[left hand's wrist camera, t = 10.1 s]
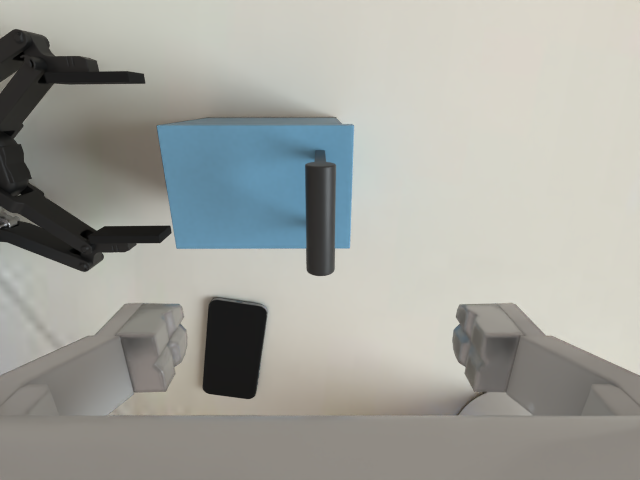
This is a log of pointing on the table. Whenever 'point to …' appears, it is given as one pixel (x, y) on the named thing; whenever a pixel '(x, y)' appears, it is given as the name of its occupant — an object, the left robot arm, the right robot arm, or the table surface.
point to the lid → (260, 187)
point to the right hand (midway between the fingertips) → (152, 162)
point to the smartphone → (233, 347)
